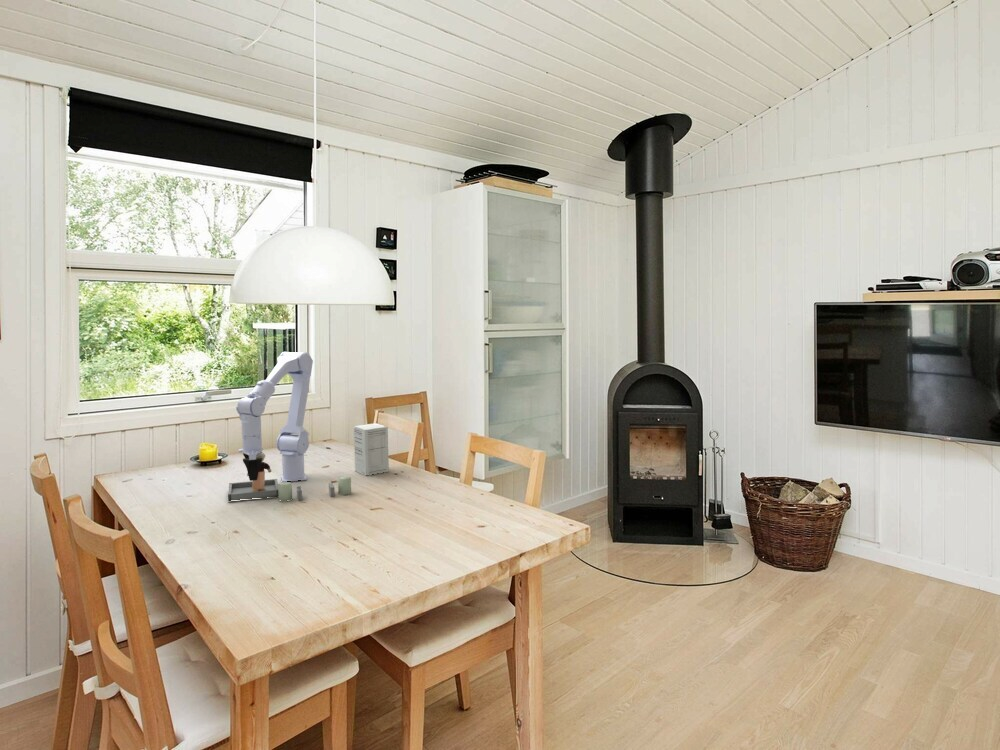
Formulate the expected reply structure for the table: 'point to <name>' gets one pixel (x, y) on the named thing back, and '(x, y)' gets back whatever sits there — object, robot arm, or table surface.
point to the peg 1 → (344, 485)
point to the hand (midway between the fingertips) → (253, 477)
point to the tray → (244, 490)
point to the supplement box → (371, 449)
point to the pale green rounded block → (285, 491)
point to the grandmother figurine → (260, 474)
